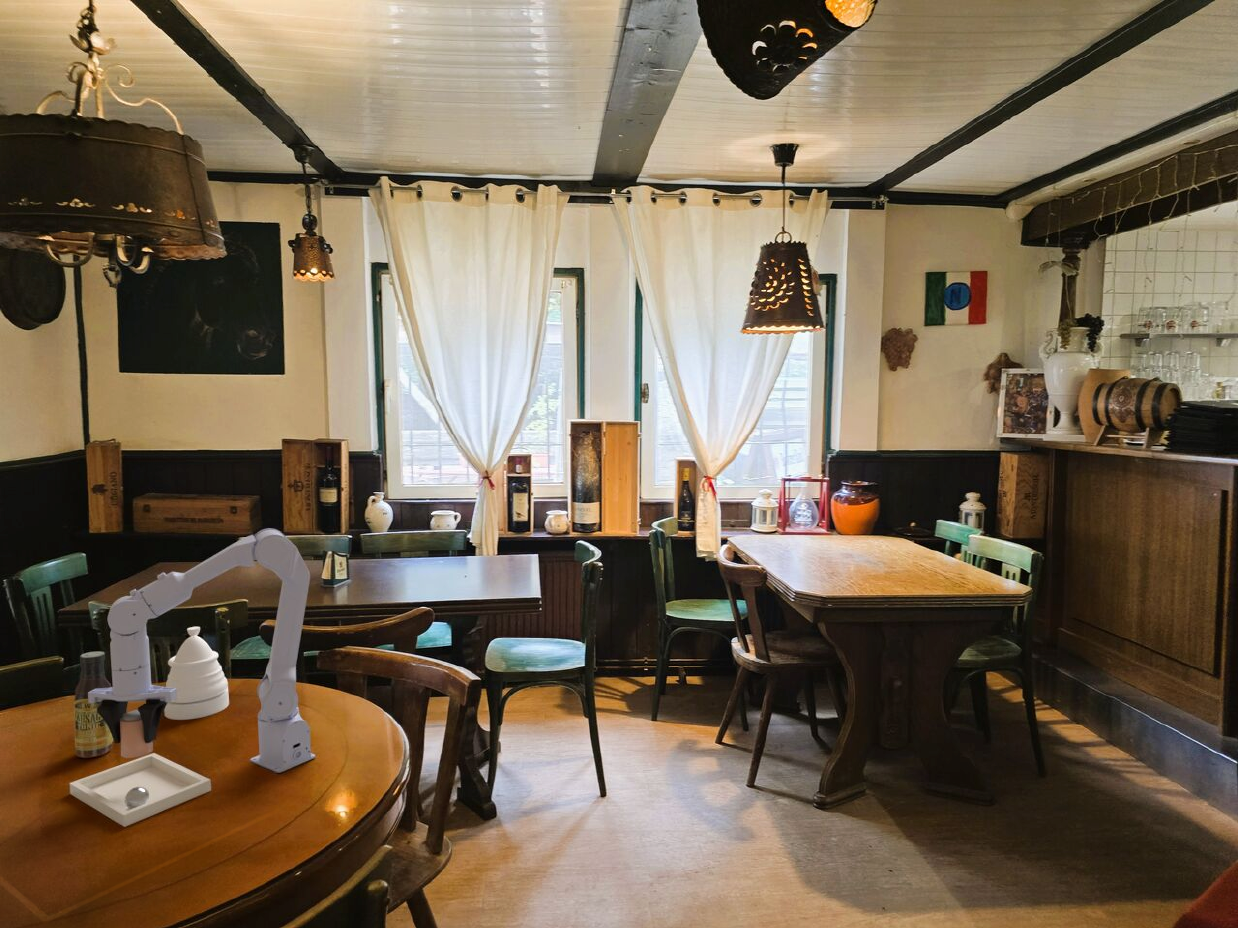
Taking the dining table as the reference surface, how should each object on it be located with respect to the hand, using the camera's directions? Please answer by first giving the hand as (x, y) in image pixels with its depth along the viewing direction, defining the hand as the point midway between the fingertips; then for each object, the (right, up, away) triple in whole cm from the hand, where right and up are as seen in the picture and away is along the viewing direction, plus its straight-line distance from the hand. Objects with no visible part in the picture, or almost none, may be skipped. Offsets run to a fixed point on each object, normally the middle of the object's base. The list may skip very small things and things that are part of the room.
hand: (135, 740), depth 137 cm
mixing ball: (+5, -9, -7) cm, 12 cm away
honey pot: (-10, -7, +39) cm, 40 cm away
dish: (+2, -9, -1) cm, 9 cm away
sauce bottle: (-18, -8, +16) cm, 25 cm away
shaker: (0, -2, 0) cm, 2 cm away
